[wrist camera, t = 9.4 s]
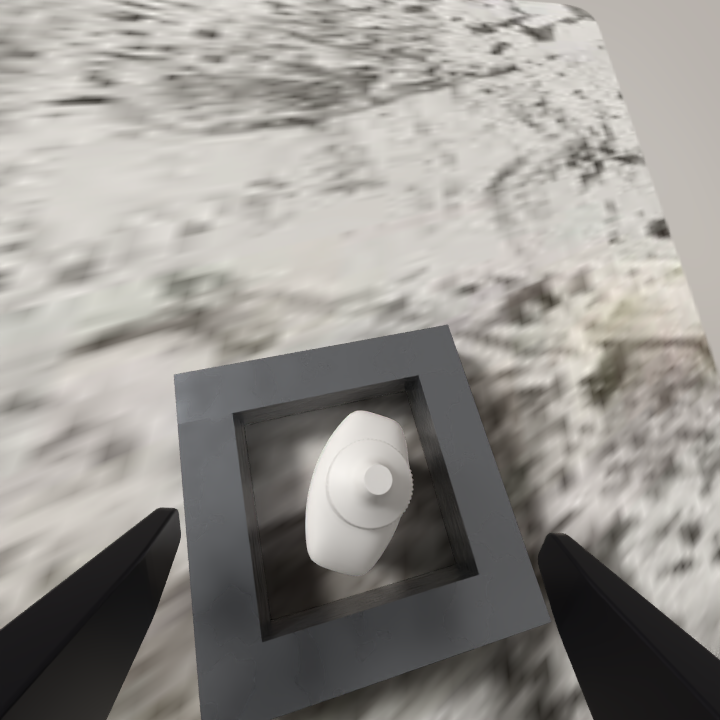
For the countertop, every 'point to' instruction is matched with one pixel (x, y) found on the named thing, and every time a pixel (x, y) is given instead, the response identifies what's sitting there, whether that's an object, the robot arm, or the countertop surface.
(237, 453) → the hollow square frame
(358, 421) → the eye dropper bottle
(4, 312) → the countertop surface
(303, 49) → the countertop surface
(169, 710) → the countertop surface
